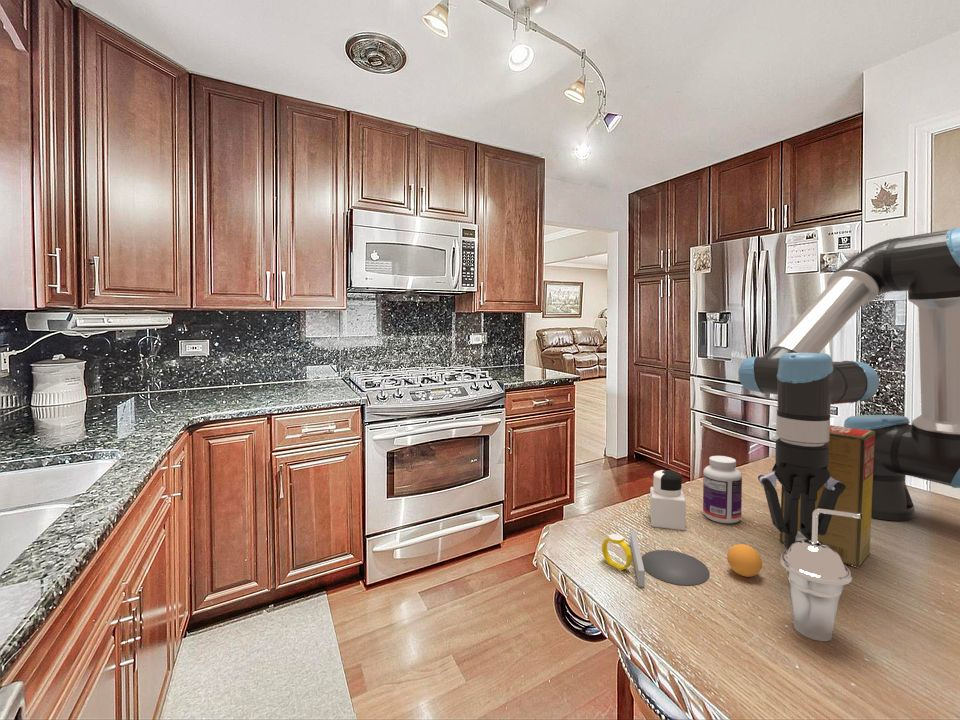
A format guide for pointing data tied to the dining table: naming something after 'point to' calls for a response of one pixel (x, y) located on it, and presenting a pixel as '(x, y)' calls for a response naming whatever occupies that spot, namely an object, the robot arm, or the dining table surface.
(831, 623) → the cup with straw
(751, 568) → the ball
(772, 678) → the dining table surface
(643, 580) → the wall
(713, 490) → the pill bottle
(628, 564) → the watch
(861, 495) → the food packaging
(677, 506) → the medicine bottle
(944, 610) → the dining table surface
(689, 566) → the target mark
